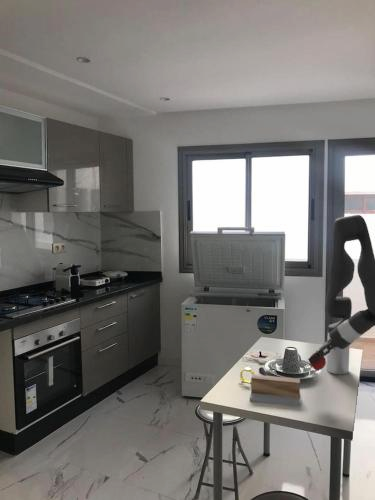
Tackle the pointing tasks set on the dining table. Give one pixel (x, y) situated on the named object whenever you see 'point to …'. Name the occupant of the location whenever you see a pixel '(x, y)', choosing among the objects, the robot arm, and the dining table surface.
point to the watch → (246, 370)
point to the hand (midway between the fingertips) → (312, 358)
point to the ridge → (275, 386)
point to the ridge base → (274, 399)
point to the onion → (318, 362)
